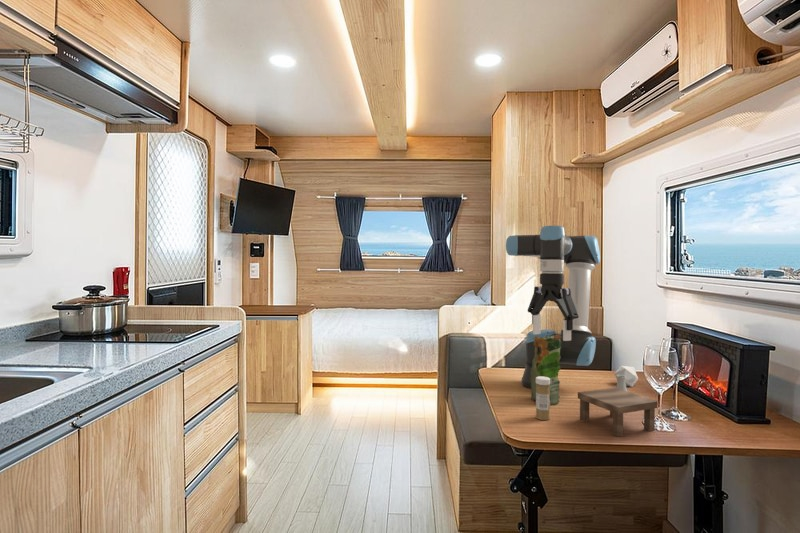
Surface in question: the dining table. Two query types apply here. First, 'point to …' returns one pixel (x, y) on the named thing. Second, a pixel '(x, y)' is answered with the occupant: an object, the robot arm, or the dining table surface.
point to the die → (627, 375)
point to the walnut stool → (618, 406)
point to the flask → (621, 382)
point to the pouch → (546, 364)
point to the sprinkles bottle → (543, 398)
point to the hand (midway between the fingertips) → (551, 337)
